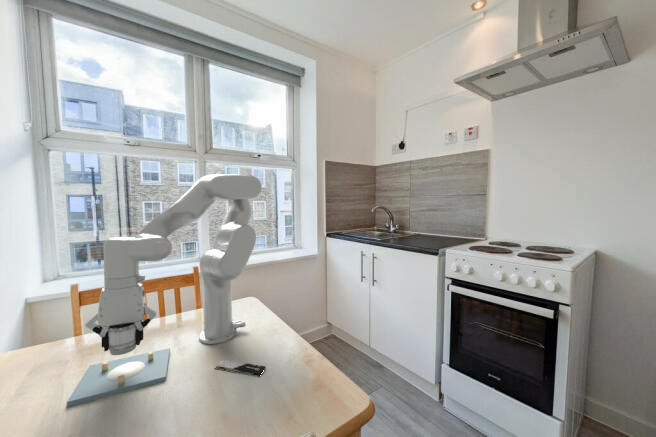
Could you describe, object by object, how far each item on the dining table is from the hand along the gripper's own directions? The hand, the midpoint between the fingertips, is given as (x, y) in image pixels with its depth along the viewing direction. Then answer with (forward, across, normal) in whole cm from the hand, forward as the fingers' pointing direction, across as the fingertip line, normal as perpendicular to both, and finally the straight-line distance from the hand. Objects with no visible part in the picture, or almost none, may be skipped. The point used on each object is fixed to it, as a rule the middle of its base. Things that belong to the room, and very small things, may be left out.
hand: (123, 345), depth 73 cm
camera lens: (+1, 0, 0) cm, 1 cm away
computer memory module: (+9, -30, +12) cm, 33 cm away
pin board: (+9, 0, 0) cm, 9 cm away
